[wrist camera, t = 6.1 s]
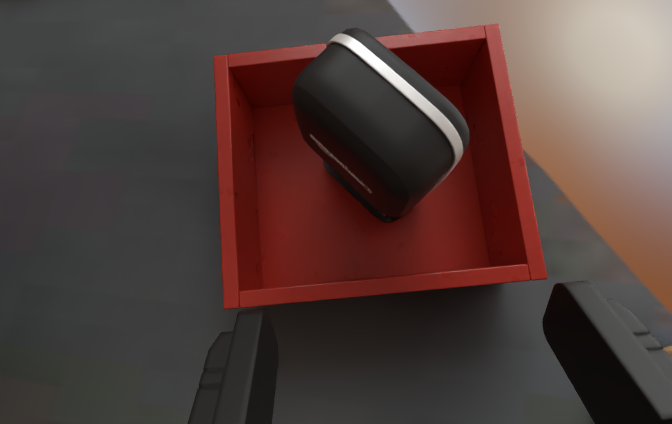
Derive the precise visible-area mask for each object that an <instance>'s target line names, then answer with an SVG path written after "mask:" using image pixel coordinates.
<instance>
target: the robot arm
mask: <svg viewBox="0 0 672 424" xmlns="http://www.w3.org/2000/svg"><path fill="white" fill-rule="evenodd" d="M543 331H544V334H545V337H546V340H547V341H548V343H549V345H550V347H551V348H552V350H553V352H554V354H555V355H556V357H557V359H558V361H559V362H560V364H561V366H562V367H563V369H564V371H565V373H566V374H567V376H568V378H569V379H570V381H571V383H572V385H573V386H574V388H575V390H576V392H577V393H578V395H579V397H580V398H581V400H582V402H583V404H584V405H585V407H586V409H587V411H588V412H589V414H590V416H591V417H592V419H593V421H594V423H595V424H672V357H671V356H670V355H669V354H668V352H667V351H664V350H663V348H662V345H661V344H660V343H659V342H658V341H657V340H656V339H655V337H654V336H653V335H650V333H649V330H648V329H647V328H646V327H645V326H644V325H643V324H642V322H641V321H640V320H639V319H638V318H637V317H636V315H635V314H634V313H632V312H631V311H629V310H628V309H627V308H625V307H624V306H622V305H621V304H619V303H618V302H616V301H615V300H614V299H605V298H604V297H603V296H602V295H601V293H600V292H599V291H598V290H597V289H596V287H595V286H594V285H593V284H592V283H590V282H588V281H577V282H566V283H557V284H555V286H554V287H553V290H552V293H551V296H550V299H549V302H548V305H547V308H546V311H545V314H544V317H543ZM203 369H204V372H203V373H202V375H201V379H200V382H199V389H197V393H196V396H195V400H194V403H193V407H192V410H191V414H190V417H189V421H188V424H272V415H273V406H274V397H275V387H276V378H277V369H278V344H277V340H276V337H275V333H274V330H273V327H272V324H271V320H270V317H269V314H268V311H267V309H258V310H247V311H240V312H239V313H238V315H237V318H236V322H235V326H234V331H233V332H222V333H220V335H219V336H218V338H217V339H216V340H215V342H214V343H213V345H212V346H211V347H210V349H209V351H208V355H207V358H206V361H205V365H204V368H203Z"/></svg>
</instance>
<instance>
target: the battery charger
mask: <svg viewBox="0 0 672 424" xmlns="http://www.w3.org/2000/svg"><path fill="white" fill-rule="evenodd" d="M292 102H293V107H294V112H295V116H296V120H297V123H298V126H299V129H300V131H301V134H302V137H303V140H304V141H305V142H306V143H307V144H308V145H309V146H310V147H311V148H312V149H313V150H314V151H315V152H316V153H317V154H318V155H319V156H320V157H321V158H322V159H323V164H324V167H325V169H326V170H327V171H328V172H329V174H330V175H331V176H332V177H333V178H334V179H335V180H336V181H338V182H339V183H340V184H341V185H342V186H343V187H344V188H345V189H346V190H347V191H348V192H349V193H350V194H351V195H352V196H353V197H354V198H355V199H356V200H357V201H358V202H360V203H361V204H362V205H363V206H364V207H365V208H366V209H367V210H368V211H369V212H370V213H371V214H372V215H373V216H375V217H376V218H377V219H378V220H380V221H382V222H385V223H391V222H394V221H397V220H399V219H400V218H402V217H403V216H405V215H406V214H407V213H408V212H409V211H410V210H411V209H414V208H415V207H416V206H417V205H418V203H419V202H420V201H421V200H422V199H423V198H424V197H425V196H426V195H427V194H428V193H430V192H431V191H432V190H433V189H435V188H436V187H437V186H438V185H439V184H440V183H441V182H442V181H443V180H444V179H445V178H446V177H447V176H448V175H449V173H450V172H451V171H452V170H453V169H454V167H455V166H456V165H457V163H458V162H459V161H460V159H461V157H462V154H463V153H464V152H465V150H466V148H467V146H468V143H469V139H470V137H469V129H468V126H467V124H466V121H465V119H464V118H463V116H462V115H461V114H460V112H459V111H458V109H457V108H456V107H455V106H454V105H453V104H452V103H451V102H450V101H449V100H448V99H446V98H445V97H444V96H443V95H442V94H441V93H440V92H438V91H437V90H436V89H435V88H434V87H433V86H432V85H430V84H429V83H428V82H427V81H426V80H425V79H424V78H422V77H421V76H420V75H419V74H418V73H417V72H416V71H414V70H413V69H412V68H411V67H410V66H408V65H407V64H406V63H405V62H404V61H402V60H401V59H400V58H399V57H398V56H396V55H395V54H394V53H393V52H391V51H390V50H389V49H388V48H387V47H385V46H384V45H383V44H382V43H381V42H379V41H378V40H377V39H375V38H374V37H373V36H371V35H370V34H368V33H367V32H365V31H363V30H361V29H358V28H351V29H346V30H345V31H344V32H342V33H341V34H337V35H336V36H334V37H333V38H332V39H331V40H330V41H329V42H328V43H327V45H326V48H325V49H324V50H323V51H322V52H321V53H320V54H319V55H318V56H317V57H316V58H315V59H314V60H313V61H312V62H311V63H310V64H308V65H307V66H306V67H305V68H304V70H303V71H302V72H301V73H300V74H299V76H298V77H297V78H296V80H295V82H294V85H293V88H292Z"/></svg>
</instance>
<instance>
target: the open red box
mask: <svg viewBox="0 0 672 424" xmlns="http://www.w3.org/2000/svg"><path fill="white" fill-rule="evenodd" d="M375 39H377V40H378V41H379V42H381V43H382V44H383V45H384V46H385V47H387V48H388V49H389V50H390V51H391V52H393V53H394V54H395V55H396V56H398V57H399V58H400V59H401V60H402V61H404V62H405V63H406V64H407V65H408V66H410V67H411V68H412V69H413V70H414V71H416V72H417V73H418V74H419V75H420V76H421V77H422V78H424V79H425V80H426V81H427V82H428V83H429V84H430V85H432V86H433V87H434V88H435V89H436V90H437V91H438V92H440V93H441V94H442V95H443V96H444V97H445V98H446V99H448V100H449V101H450V102H451V103H452V104H453V105H454V106H455V107H456V108H457V109H458V111H459V112H460V114H461V115H462V116H463V118H464V119H465V121H466V124H467V126H468V129H469V137H470V139H469V143H468V146H467V148H466V150H465V152H464V153H463V154H462V157H461V159H460V161H459V162H458V163H457V165H456V166H455V167H454V169H453V170H452V171H451V172H450V173H449V175H448V176H447V177H446V178H445V179H444V180H443V181H442V182H441V183H440V184H439V185H438V186H437V187H436V188H435V189H433V190H432V191H431V192H430V193H428V194H427V195H426V196H425V197H424V198H423V199H422V200H421V201H420V202H419V203H418V205H417V206H416V207H415V208H414V209H411V210H410V211H409V212H408V213H407V214H406V215H405V216H403V217H402V218H400V219H399V220H397V221H394V222H391V223H385V222H382V221H380V220H378V219H377V218H376V217H375V216H373V215H372V214H371V213H370V212H369V211H368V210H367V209H366V208H365V207H364V206H363V205H362V204H361V203H360V202H358V201H357V200H356V199H355V198H354V197H353V196H352V195H351V194H350V193H349V192H348V191H347V190H346V189H345V188H344V187H343V186H342V185H341V184H340V183H339V182H338V181H336V180H335V179H334V178H333V177H332V176H331V175H330V174H329V172H328V171H327V170H326V169H325V167H324V164H323V159H322V158H321V157H320V156H319V155H318V154H317V153H316V152H315V151H314V150H313V149H312V148H311V147H310V146H309V145H308V144H307V143H306V142H305V141H304V140H303V137H302V134H301V131H300V129H299V126H298V123H297V120H296V116H295V112H294V107H293V102H292V88H293V85H294V82H295V80H296V78H297V77H298V76H299V74H300V73H301V72H302V71H303V70H304V68H305V67H306V66H307V65H308V64H310V63H311V62H312V61H313V60H314V59H315V58H316V57H317V56H318V55H319V54H320V53H321V52H322V51H323V50H324V49H325V48H326V45H327V43H324V44H316V45H307V46H298V47H289V48H281V49H272V50H263V51H254V52H246V53H237V54H229V55H221V56H214V77H215V103H216V128H217V153H218V179H219V204H220V230H221V255H222V280H223V306H224V309H234V308H245V307H256V306H266V305H277V304H287V303H298V302H309V301H319V300H330V299H340V298H351V297H362V296H372V295H383V294H393V293H404V292H415V291H425V290H436V289H447V288H457V287H468V286H478V285H489V284H500V283H510V282H521V281H529V280H542V279H547V273H546V268H545V263H544V258H543V252H542V247H541V242H540V237H539V232H538V226H537V221H536V216H535V211H534V206H533V200H532V195H531V190H530V185H529V180H528V174H527V169H526V164H525V159H524V154H523V148H522V143H521V138H520V133H519V128H518V123H517V117H516V112H515V107H514V102H513V97H512V91H511V87H510V81H509V76H508V70H507V65H506V60H505V55H504V50H503V44H502V39H501V34H500V29H499V25H498V24H491V25H485V26H483V25H482V26H474V27H465V28H457V29H448V30H439V31H429V32H422V33H412V34H403V35H394V36H386V37H377V38H375Z"/></svg>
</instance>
